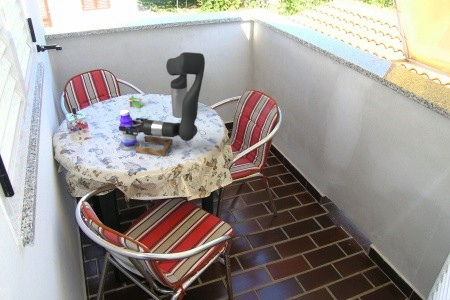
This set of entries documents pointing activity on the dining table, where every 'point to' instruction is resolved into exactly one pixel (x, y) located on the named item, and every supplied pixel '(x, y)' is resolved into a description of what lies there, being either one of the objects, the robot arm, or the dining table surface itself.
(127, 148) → the coaster
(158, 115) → the dining table surface
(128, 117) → the bottle
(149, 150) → the wooden frame
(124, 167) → the dining table surface
